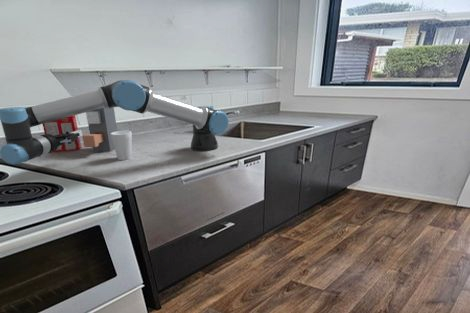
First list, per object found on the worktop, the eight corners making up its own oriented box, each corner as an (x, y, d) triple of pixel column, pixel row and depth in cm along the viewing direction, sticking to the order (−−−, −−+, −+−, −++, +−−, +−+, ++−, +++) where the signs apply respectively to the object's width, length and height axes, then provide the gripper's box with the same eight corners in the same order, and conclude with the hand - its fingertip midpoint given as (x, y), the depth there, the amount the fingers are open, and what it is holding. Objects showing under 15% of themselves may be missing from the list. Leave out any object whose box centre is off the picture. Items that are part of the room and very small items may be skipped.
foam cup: (118, 155, 137) (114, 131, 134) (136, 155, 138) (133, 130, 134) (111, 161, 128) (107, 135, 125) (131, 160, 129) (127, 134, 125)
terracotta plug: (95, 147, 136) (93, 135, 134) (84, 147, 136) (82, 135, 134) (109, 141, 148) (107, 130, 146) (98, 141, 148) (96, 130, 147)
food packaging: (81, 147, 155) (73, 104, 147) (79, 150, 150) (70, 105, 142) (52, 150, 151) (42, 105, 143) (49, 152, 146) (38, 106, 139)
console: (110, 151, 146) (103, 107, 139) (93, 151, 147) (85, 107, 140) (119, 146, 155) (113, 105, 148) (103, 146, 156) (96, 105, 149)
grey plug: (98, 123, 138) (96, 111, 136) (87, 123, 139) (85, 112, 137) (111, 119, 150) (110, 108, 149) (101, 119, 151) (99, 109, 149)
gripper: (29, 153, 108) (69, 140, 131) (60, 154, 107) (94, 140, 129) (25, 135, 106) (66, 125, 128) (56, 135, 105) (92, 125, 127)
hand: (80, 133), depth 129 cm, fingers closed
